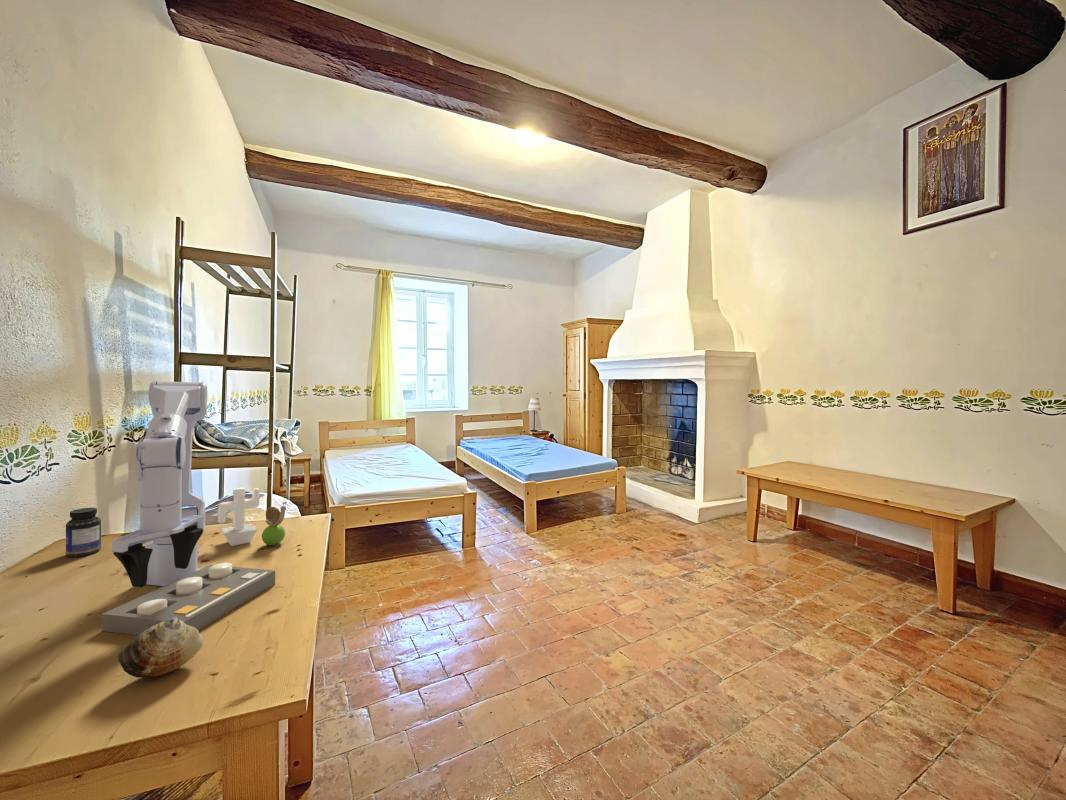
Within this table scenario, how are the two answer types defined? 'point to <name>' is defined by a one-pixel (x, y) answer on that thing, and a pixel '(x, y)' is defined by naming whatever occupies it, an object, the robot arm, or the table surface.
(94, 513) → the pill bottle
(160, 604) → the button
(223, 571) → the button
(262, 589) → the switch console
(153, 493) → the robot arm
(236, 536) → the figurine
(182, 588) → the button middle
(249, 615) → the table surface
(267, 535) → the snail figurine
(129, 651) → the seashell
